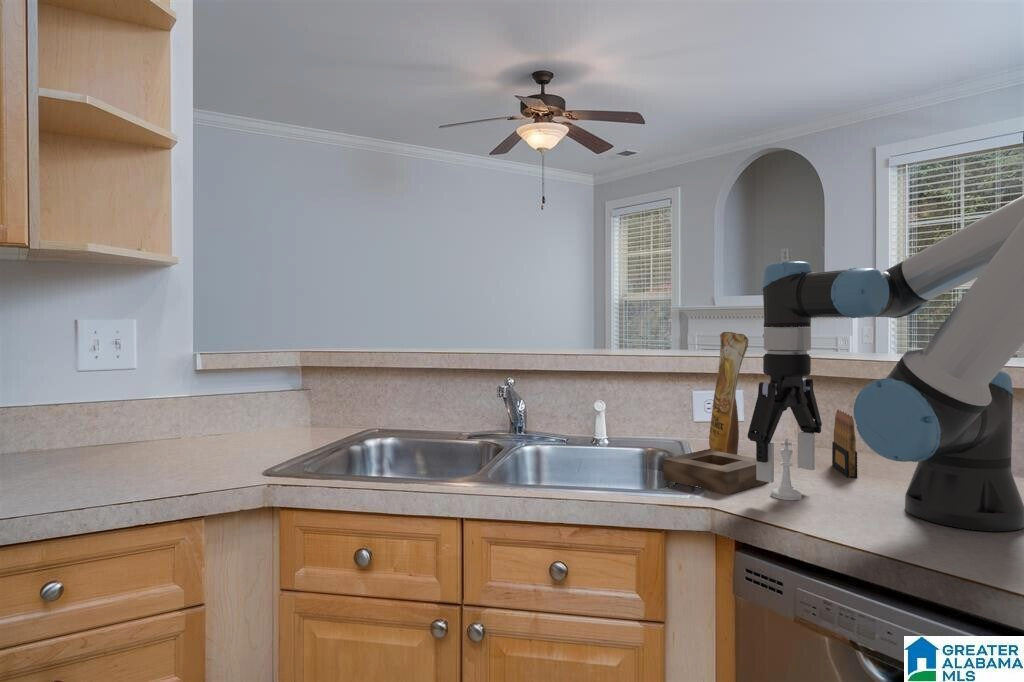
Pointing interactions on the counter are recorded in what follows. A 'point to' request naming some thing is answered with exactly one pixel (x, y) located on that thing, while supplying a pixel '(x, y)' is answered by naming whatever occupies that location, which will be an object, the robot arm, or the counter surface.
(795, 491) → the chess piece
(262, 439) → the counter surface
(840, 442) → the ammunition clip
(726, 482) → the socket block
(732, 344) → the pancake mix bag
